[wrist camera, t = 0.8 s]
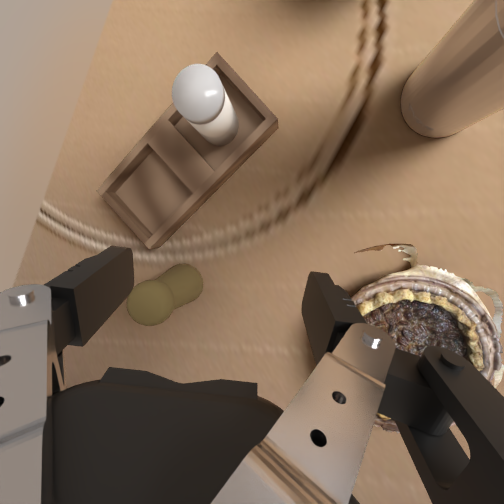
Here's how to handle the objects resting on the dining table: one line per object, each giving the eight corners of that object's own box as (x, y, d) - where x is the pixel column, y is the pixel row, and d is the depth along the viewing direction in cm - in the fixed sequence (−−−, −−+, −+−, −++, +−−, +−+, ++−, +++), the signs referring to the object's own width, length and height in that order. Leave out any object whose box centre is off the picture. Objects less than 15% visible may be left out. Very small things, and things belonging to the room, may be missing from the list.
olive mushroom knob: (157, 284, 38) (107, 308, 27) (181, 255, 37) (137, 269, 26) (186, 310, 38) (147, 345, 27) (211, 282, 37) (179, 307, 26)
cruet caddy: (223, 66, 33) (216, 51, 30) (278, 127, 33) (277, 118, 30) (111, 193, 37) (96, 190, 34) (159, 247, 37) (148, 249, 34)
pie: (492, 440, 34) (526, 476, 30) (294, 423, 39) (294, 452, 34) (509, 240, 31) (549, 243, 26) (290, 245, 35) (290, 249, 31)
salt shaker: (220, 96, 33) (197, 51, 24) (246, 125, 33) (232, 91, 24) (193, 125, 33) (161, 93, 25) (219, 154, 33) (196, 131, 25)
